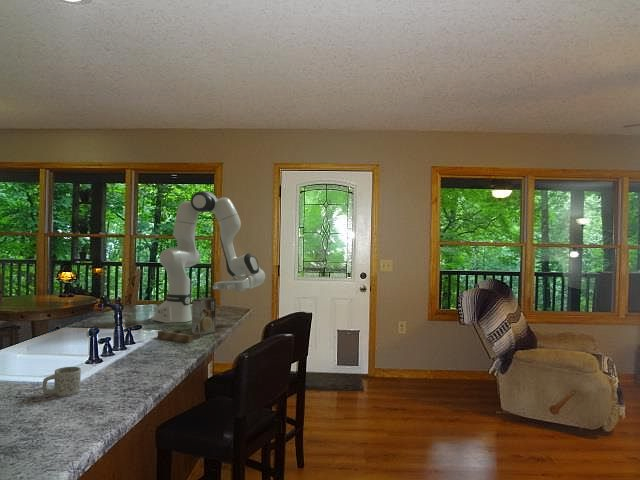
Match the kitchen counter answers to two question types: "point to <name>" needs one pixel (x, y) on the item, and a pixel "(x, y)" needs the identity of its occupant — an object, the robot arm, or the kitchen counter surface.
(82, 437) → the kitchen counter surface
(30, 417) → the kitchen counter surface
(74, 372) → the mug
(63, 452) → the kitchen counter surface
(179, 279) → the robot arm
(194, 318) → the coffee box
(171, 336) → the walnut dock
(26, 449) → the kitchen counter surface
